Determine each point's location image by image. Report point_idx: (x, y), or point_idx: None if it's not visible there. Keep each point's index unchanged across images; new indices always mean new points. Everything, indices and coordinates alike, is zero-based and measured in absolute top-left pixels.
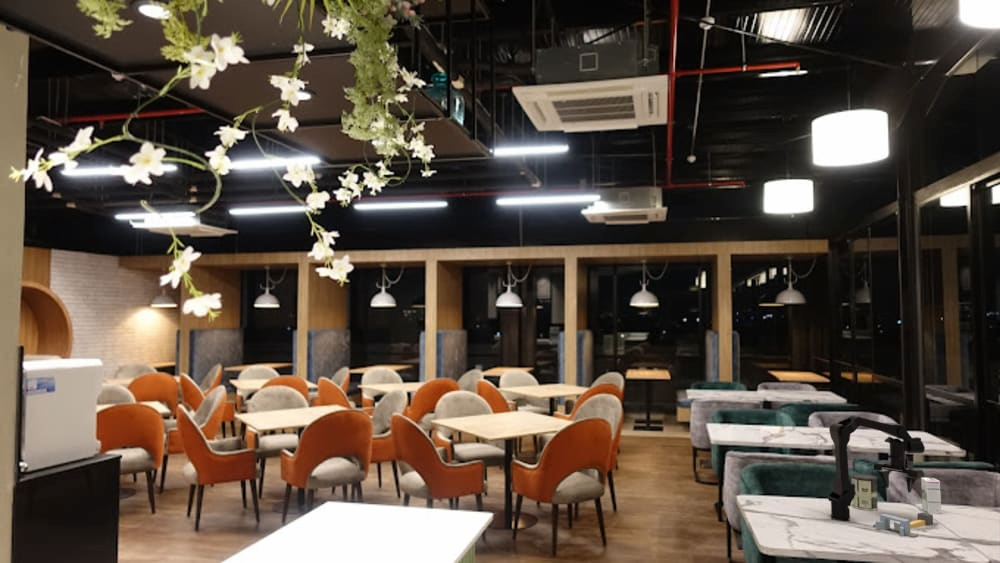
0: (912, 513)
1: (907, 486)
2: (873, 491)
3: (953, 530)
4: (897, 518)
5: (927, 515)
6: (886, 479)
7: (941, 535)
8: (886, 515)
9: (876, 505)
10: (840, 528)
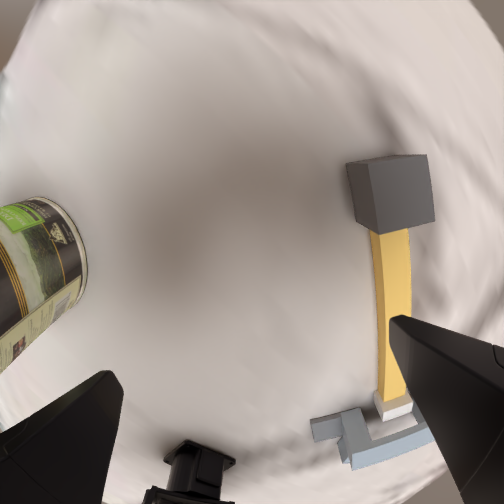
0: (172, 65)
1: (429, 421)
2: (17, 301)
3: (477, 157)
4: (415, 442)
5: (427, 207)
6: (80, 466)
7: (489, 281)
8: (371, 458)
9: (63, 239)
10: (291, 493)
